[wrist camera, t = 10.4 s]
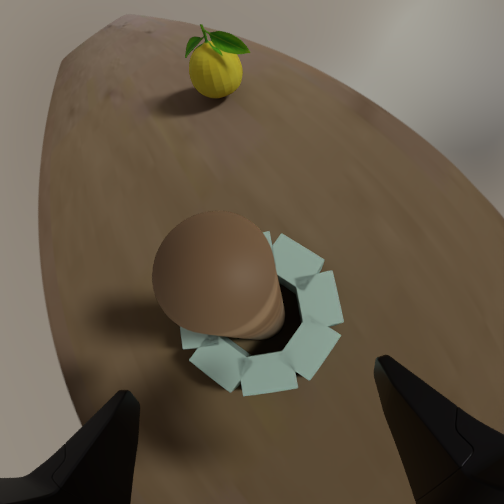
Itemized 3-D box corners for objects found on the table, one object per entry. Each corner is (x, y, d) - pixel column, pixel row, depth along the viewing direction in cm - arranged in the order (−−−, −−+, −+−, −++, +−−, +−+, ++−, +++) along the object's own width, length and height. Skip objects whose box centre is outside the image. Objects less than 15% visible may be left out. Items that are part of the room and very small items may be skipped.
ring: (345, 371, 17) (353, 375, 15) (202, 394, 18) (190, 400, 16) (316, 235, 21) (319, 221, 18) (185, 261, 22) (173, 251, 19)
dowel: (280, 343, 19) (261, 346, 6) (233, 335, 19) (140, 317, 7) (288, 297, 20) (284, 218, 7) (242, 289, 20) (170, 206, 8)
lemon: (259, 103, 26) (245, 24, 17) (207, 121, 26) (178, 45, 17) (239, 75, 29) (224, 7, 19) (194, 90, 29) (169, 25, 19)
